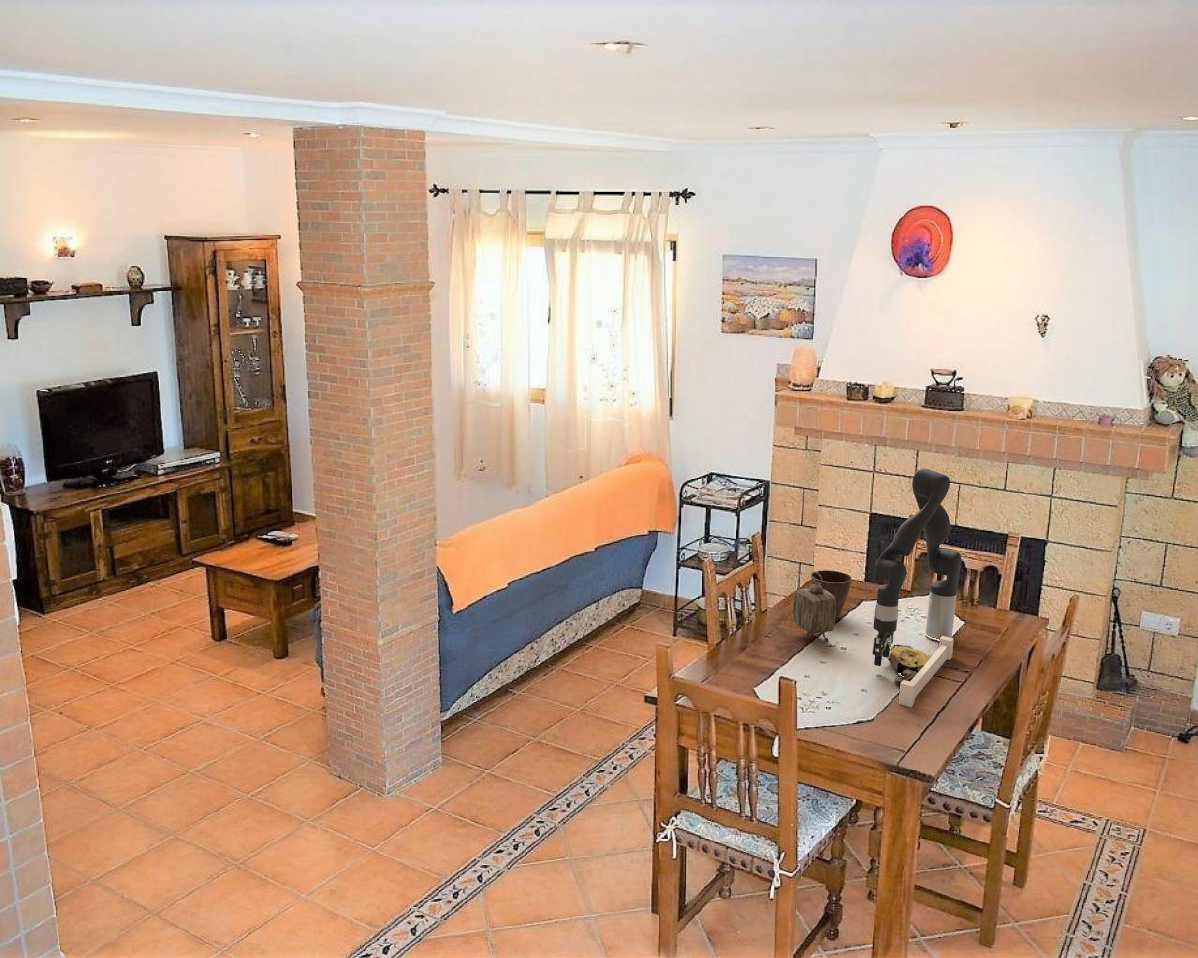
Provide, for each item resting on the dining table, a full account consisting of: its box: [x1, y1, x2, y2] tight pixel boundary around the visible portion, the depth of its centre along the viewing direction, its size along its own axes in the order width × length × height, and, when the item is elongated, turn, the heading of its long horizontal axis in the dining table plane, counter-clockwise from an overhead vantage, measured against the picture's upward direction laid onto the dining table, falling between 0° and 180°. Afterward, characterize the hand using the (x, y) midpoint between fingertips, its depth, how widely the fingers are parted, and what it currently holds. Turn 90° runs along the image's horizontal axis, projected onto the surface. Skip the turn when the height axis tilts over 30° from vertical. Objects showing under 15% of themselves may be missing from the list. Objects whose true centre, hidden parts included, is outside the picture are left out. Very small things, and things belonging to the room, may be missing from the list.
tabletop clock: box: [792, 570, 836, 643], centre depth 392 cm, size 14×9×25 cm, turn 22°
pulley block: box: [887, 644, 931, 686], centre depth 368 cm, size 14×6×30 cm
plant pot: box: [811, 570, 852, 620], centre depth 416 cm, size 15×15×16 cm
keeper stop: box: [898, 636, 955, 708], centre depth 362 cm, size 48×4×7 cm, turn 148°
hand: (881, 661), depth 370 cm, fingers open, 8 cm apart
